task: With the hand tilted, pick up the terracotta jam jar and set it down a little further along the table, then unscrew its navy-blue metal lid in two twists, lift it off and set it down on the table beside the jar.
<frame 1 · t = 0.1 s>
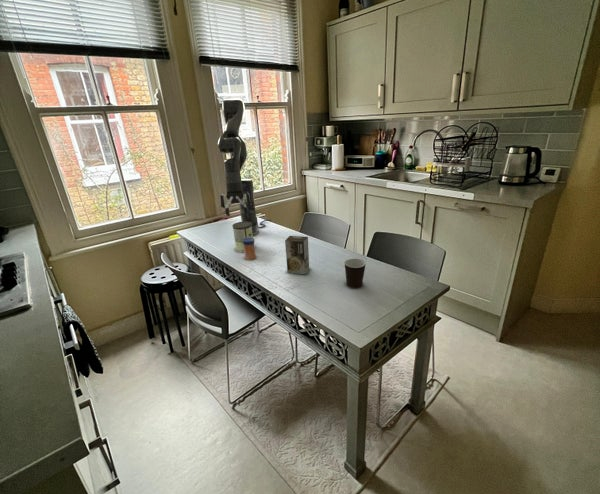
hand: (237, 215, 155), 22 cm above the table, tool pointing down, fingers open, 8 cm apart
coffee box: (298, 271, 147), on the table
lid: (248, 240, 159), point 10 cm above the table, screwed on, not yet turned
jar: (250, 257, 163), on the table
coffee can: (245, 248, 175), on the table
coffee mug: (355, 283, 134), on the table
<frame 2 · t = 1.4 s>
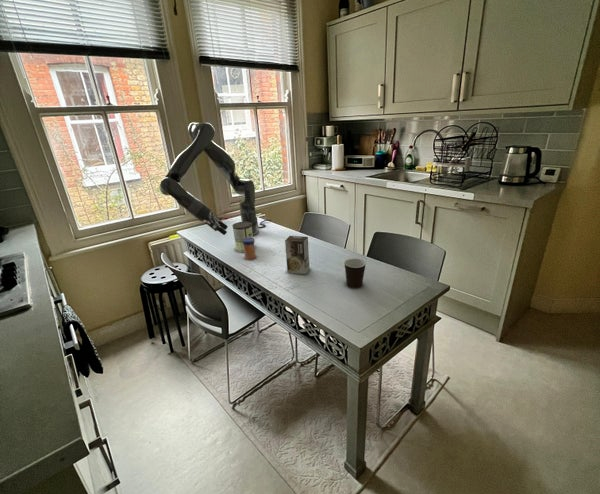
hand: (226, 230, 155), 16 cm above the table, tool tilted 45°, fingers open, 8 cm apart
nothing on the table moved.
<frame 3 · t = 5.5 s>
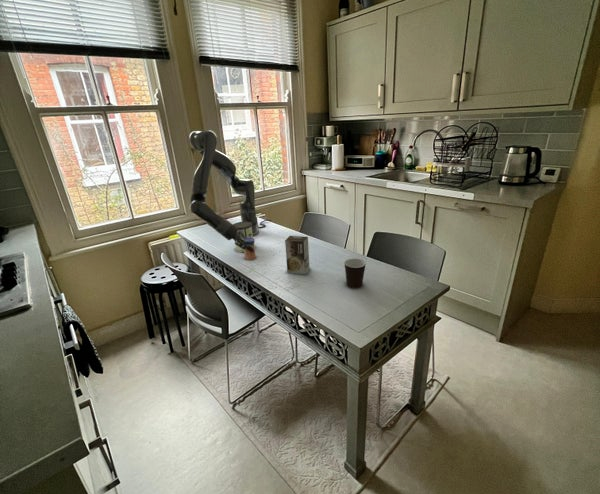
hand: (252, 248, 161), 5 cm above the table, tool tilted 45°, fingers closed on jar, lid, 5 cm apart
lid: (248, 240, 159), point 10 cm above the table, screwed on, not yet turned, touching gripper
jar: (250, 257, 163), on the table, touching gripper
everything else where it was.
when the fingers open (5 cm above the table, at t = 11.1 s): jar stays where it is, on the table; lid stays where it is, point 10 cm above the table.
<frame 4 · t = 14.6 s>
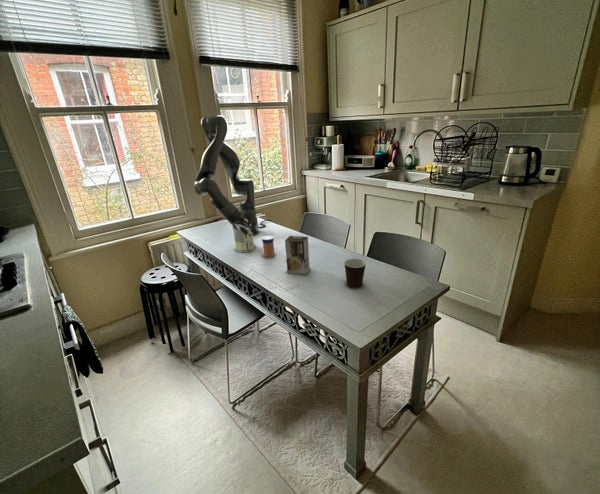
hand: (251, 233, 161), 12 cm above the table, tool tilted 35°, fingers open, 8 cm apart
lid: (267, 238, 160), point 10 cm above the table, screwed on, not yet turned
jar: (269, 255, 164), on the table
everything else where it was.
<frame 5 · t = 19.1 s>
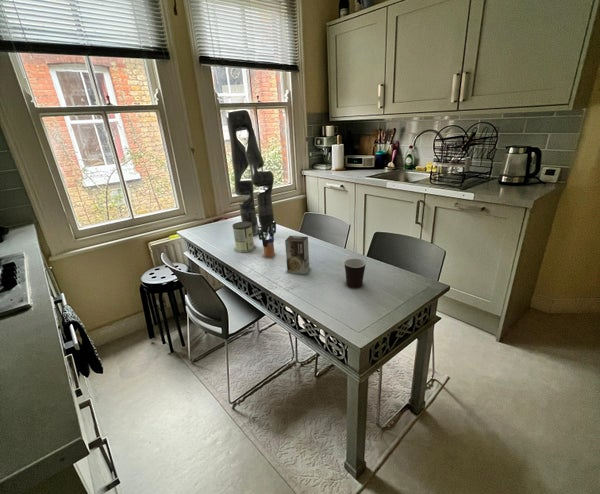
hand: (268, 244, 162), 6 cm above the table, tool pointing down, fingers closed on lid, 5 cm apart
lid: (267, 238, 160), point 10 cm above the table, screwed on, not yet turned, touching gripper
everything else where it was.
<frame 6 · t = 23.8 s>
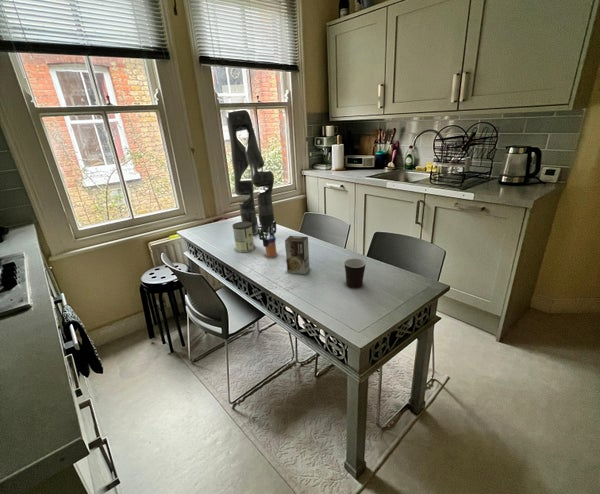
hand: (268, 244, 162), 6 cm above the table, tool pointing down, fingers closed on lid, 5 cm apart
lid: (269, 237, 160), point 10 cm above the table, turned 78° so far, risen 0.2 cm, still on its thread, touching gripper
jar: (271, 255, 164), on the table
everything else where it was.
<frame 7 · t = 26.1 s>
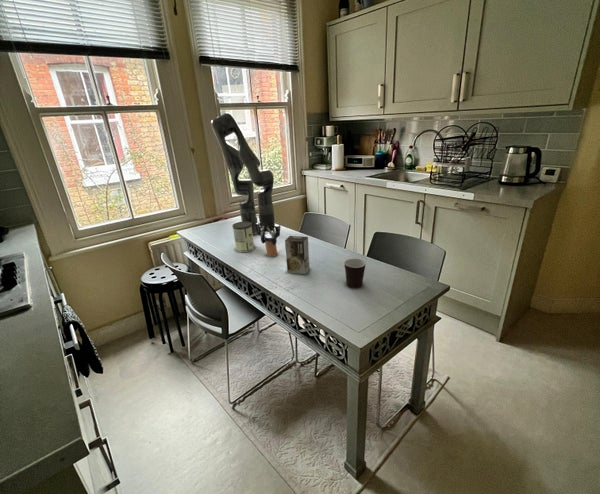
hand: (269, 243, 162), 7 cm above the table, tool pointing down, fingers closed on lid, 5 cm apart
lid: (269, 236, 161), point 10 cm above the table, off its thread, touching gripper
jar: (272, 254, 165), on the table, touching gripper
everything else where it was.
when the fingers open (1 cm above the table, at t = 33.5 s): lid drops 3 cm, point 1 cm above the table.
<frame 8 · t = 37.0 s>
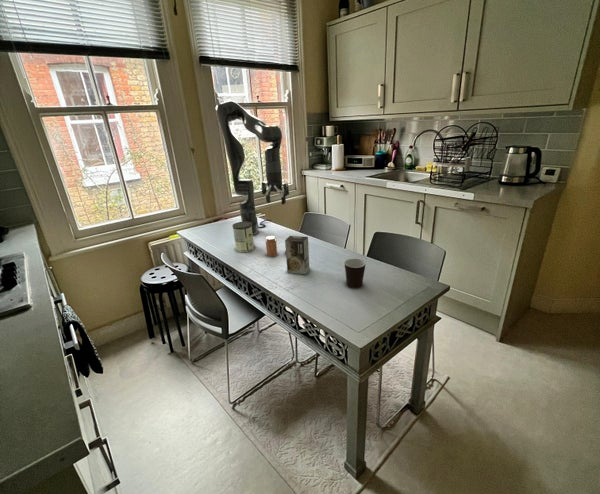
hand: (276, 203, 158), 26 cm above the table, tool pointing down, fingers open, 8 cm apart
lid: (290, 250, 165), point 1 cm above the table, off its thread
jar: (272, 254, 165), on the table
everything else where it was.
at the end: jar moved 11.3 cm from its start; lid came off its thread; lid point 1.4 cm above the table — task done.
